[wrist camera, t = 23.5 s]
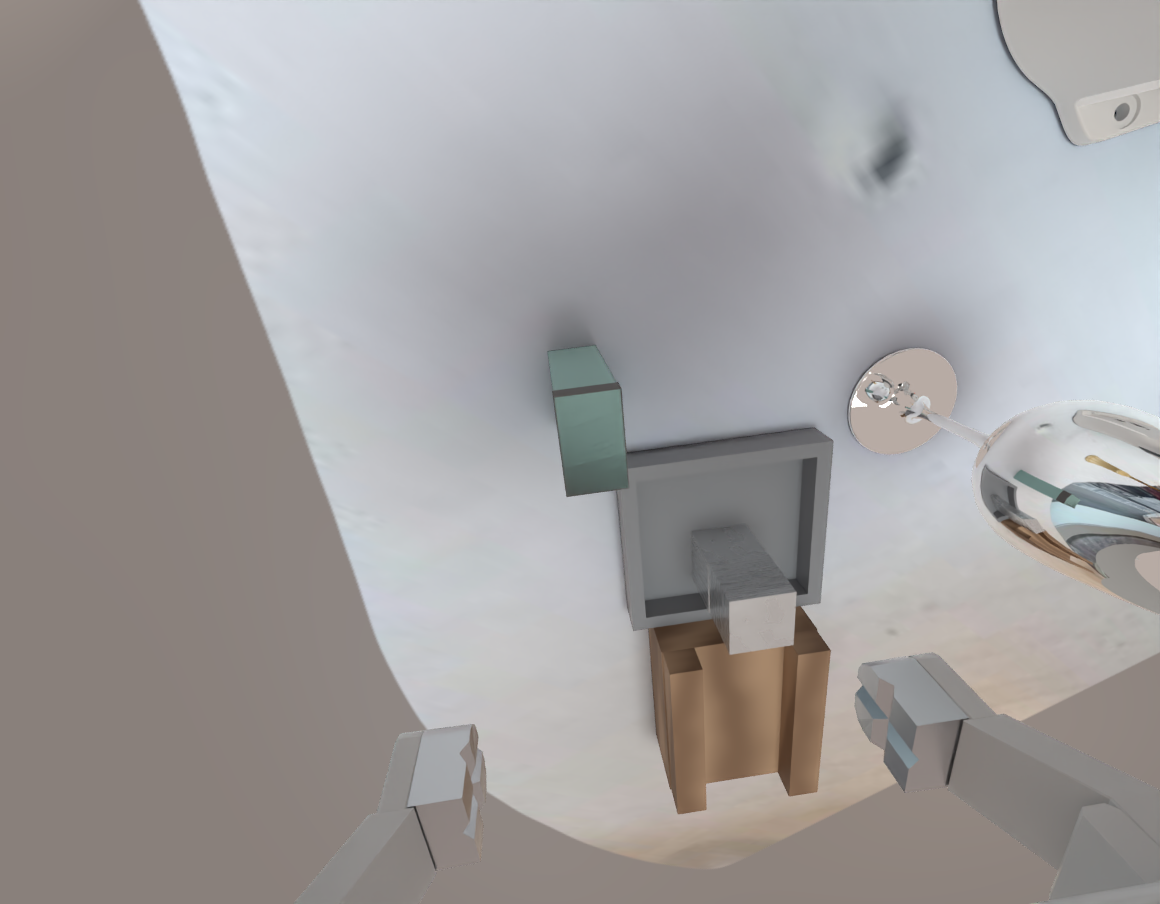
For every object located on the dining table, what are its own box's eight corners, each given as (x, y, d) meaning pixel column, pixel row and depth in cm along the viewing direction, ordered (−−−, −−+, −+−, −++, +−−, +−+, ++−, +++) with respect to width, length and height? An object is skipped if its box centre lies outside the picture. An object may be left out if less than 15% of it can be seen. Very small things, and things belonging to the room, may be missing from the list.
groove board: (785, 585, 42) (832, 650, 35) (779, 715, 47) (818, 791, 41) (646, 605, 41) (668, 674, 35) (656, 734, 47) (676, 814, 40)
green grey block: (546, 350, 33) (553, 396, 24) (596, 344, 33) (621, 387, 24) (556, 427, 35) (566, 496, 26) (603, 420, 35) (629, 488, 26)
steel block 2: (768, 553, 35) (796, 591, 31) (767, 603, 37) (793, 645, 33) (708, 562, 35) (729, 601, 31) (709, 611, 36) (729, 654, 33)
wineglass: (908, 470, 39) (1248, 687, 20) (823, 429, 37) (1113, 627, 19) (979, 374, 36) (1438, 522, 18) (892, 325, 35) (1305, 434, 16)
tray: (814, 427, 37) (833, 440, 35) (804, 582, 42) (820, 603, 40) (613, 454, 36) (619, 470, 34) (627, 608, 41) (633, 630, 39)
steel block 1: (744, 570, 40) (745, 524, 39) (766, 604, 37) (768, 555, 35) (692, 577, 40) (691, 531, 39) (708, 612, 36) (708, 563, 35)
